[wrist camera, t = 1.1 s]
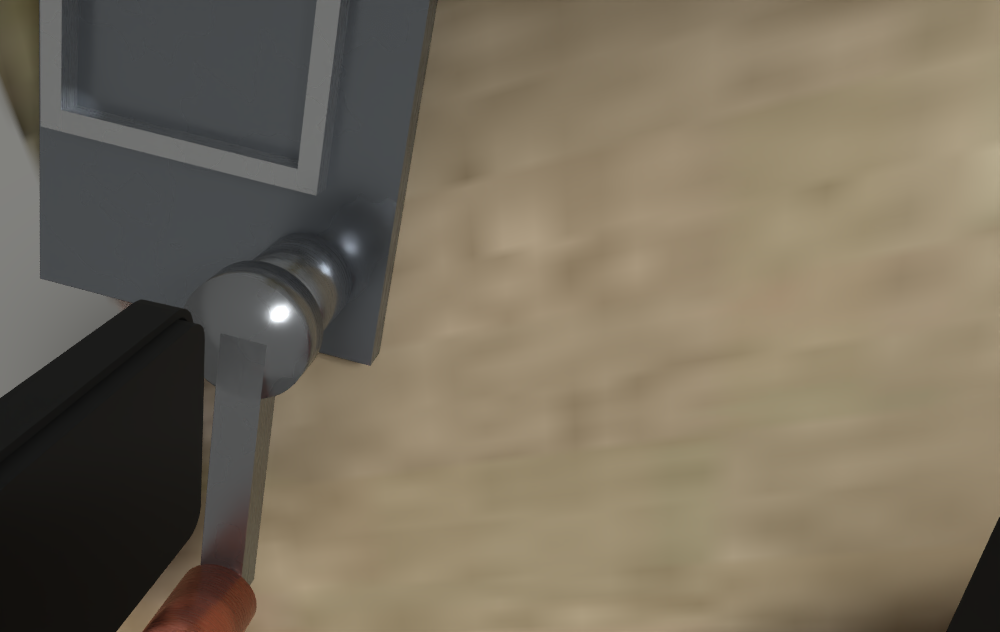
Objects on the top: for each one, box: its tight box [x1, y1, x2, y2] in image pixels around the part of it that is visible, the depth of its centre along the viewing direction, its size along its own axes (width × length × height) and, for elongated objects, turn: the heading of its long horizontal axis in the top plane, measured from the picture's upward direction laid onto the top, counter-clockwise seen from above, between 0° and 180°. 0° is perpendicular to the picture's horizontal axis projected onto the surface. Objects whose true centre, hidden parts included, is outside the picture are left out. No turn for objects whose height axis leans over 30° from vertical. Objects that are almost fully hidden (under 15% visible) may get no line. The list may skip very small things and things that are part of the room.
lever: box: [143, 260, 324, 632], centre depth 31 cm, size 15×4×6 cm, turn 168°
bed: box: [39, 0, 437, 366], centre depth 33 cm, size 18×14×5 cm
